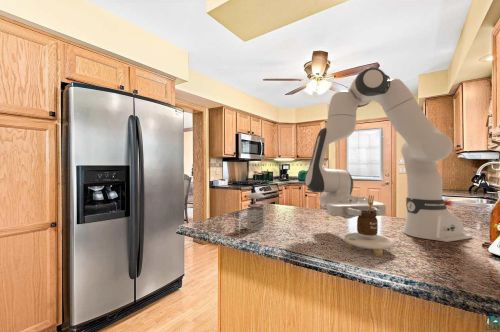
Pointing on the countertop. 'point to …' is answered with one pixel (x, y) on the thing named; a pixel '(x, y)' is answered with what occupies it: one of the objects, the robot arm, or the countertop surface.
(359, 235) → the leveling stand
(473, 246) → the countertop surface
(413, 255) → the countertop surface
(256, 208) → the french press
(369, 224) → the utensil holder
